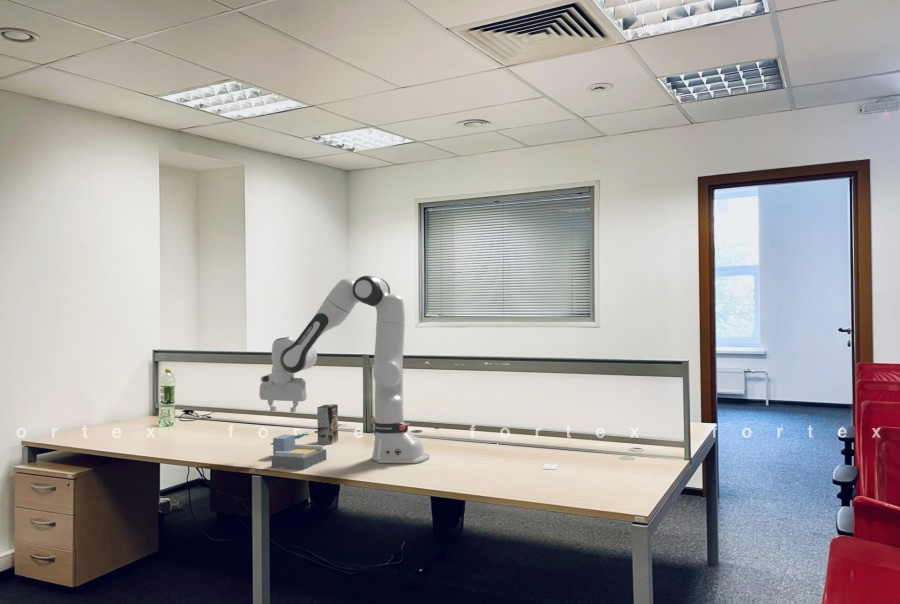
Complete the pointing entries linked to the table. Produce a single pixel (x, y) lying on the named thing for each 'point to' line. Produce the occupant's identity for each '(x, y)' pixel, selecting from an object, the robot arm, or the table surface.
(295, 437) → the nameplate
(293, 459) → the dock
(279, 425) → the table surface
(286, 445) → the cart
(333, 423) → the coffee box
